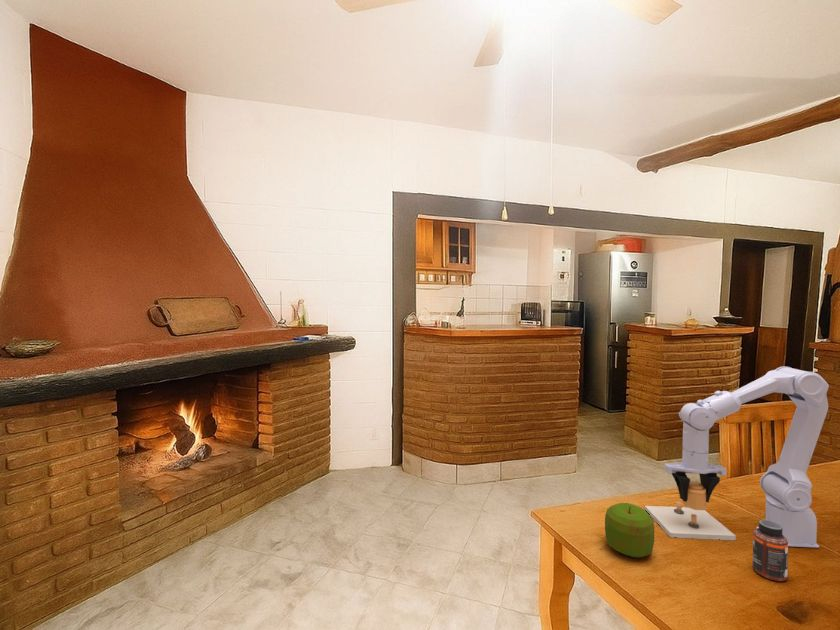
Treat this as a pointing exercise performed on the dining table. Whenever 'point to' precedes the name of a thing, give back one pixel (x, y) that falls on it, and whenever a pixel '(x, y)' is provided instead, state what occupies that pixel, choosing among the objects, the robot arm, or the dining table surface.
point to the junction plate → (688, 523)
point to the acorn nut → (696, 496)
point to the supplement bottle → (770, 551)
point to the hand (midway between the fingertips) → (694, 500)
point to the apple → (629, 530)
